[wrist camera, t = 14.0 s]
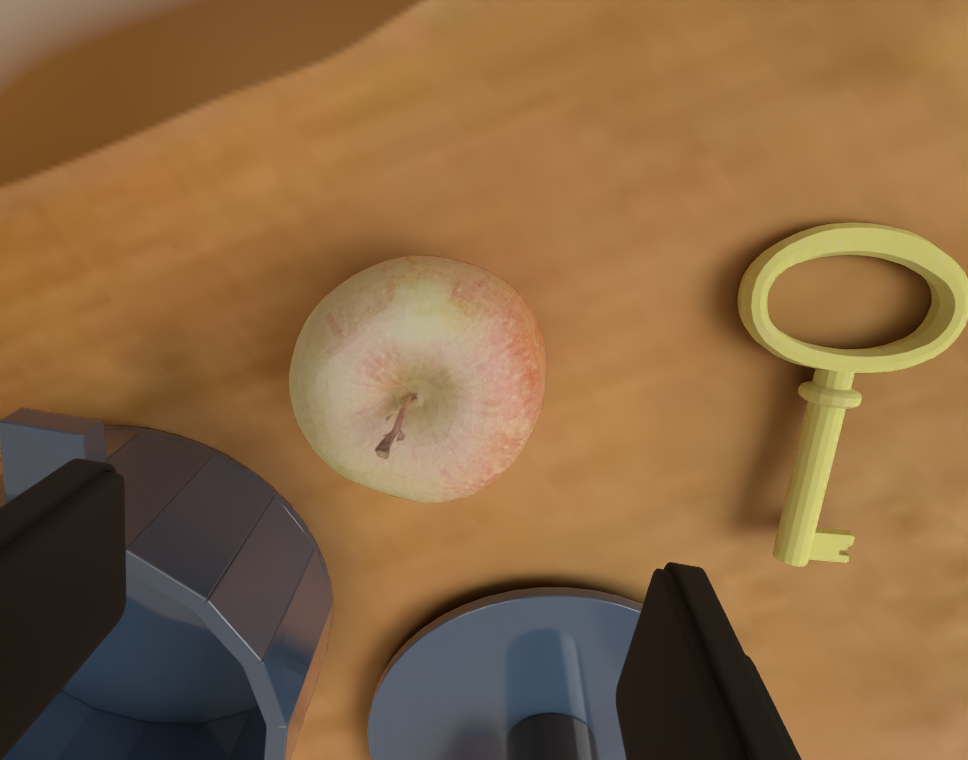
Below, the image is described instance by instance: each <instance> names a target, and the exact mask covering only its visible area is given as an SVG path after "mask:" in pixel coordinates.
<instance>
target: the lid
mask: <svg viewBox="0 0 968 760" xmlns="http://www.w3.org/2000/svg"><path fill="white" fill-rule="evenodd" d="M642 606H643V604H642V603H639V602H636V601H633V600H630V599H627V598H624V597H621V596H618V595H614V594H610V593H605V592H600V591H596V590H590V589H580V588H570V587H537V588H528V589H520V590H512V591H508V592H503V593H499V594H494V595H490V596H487V597H484V598H481V599H478V600H475V601H472V602H469V603H466V604H464V605H462V606H460V607H458V608H456V609H454V610H452V611H449V612H447V613H445V614H443V615H442V616H440V617H439V618H437V619H435V620H434V621H432V622H431V623H429V624H428V625H426V626H425V627H423V628H422V629H421V630H420V631H419V632H417V633H416V634H415V635H414V636H413V637H412V638H410V639H409V640H408V641H407V642H406V643H405V644H404V645H403V646H402V648H401V649H400V650H399V651H398V652H397V653H396V654H395V656H394V657H393V658H392V659H391V661H390V663H389V664H388V666H387V667H386V669H385V670H384V672H383V673H382V675H381V678H380V680H379V682H378V685H377V687H376V689H375V692H374V696H373V700H372V704H371V708H370V712H369V717H368V730H367V738H368V747H369V754H370V758H371V760H626V755H625V750H624V745H623V740H622V735H621V730H620V725H619V720H618V715H617V710H616V688H617V684H618V681H619V678H620V675H621V671H622V668H623V665H624V662H625V659H626V656H627V653H628V650H629V647H630V644H631V640H632V637H633V634H634V631H635V628H636V625H637V622H638V619H639V616H640V613H641V609H642Z"/></svg>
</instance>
